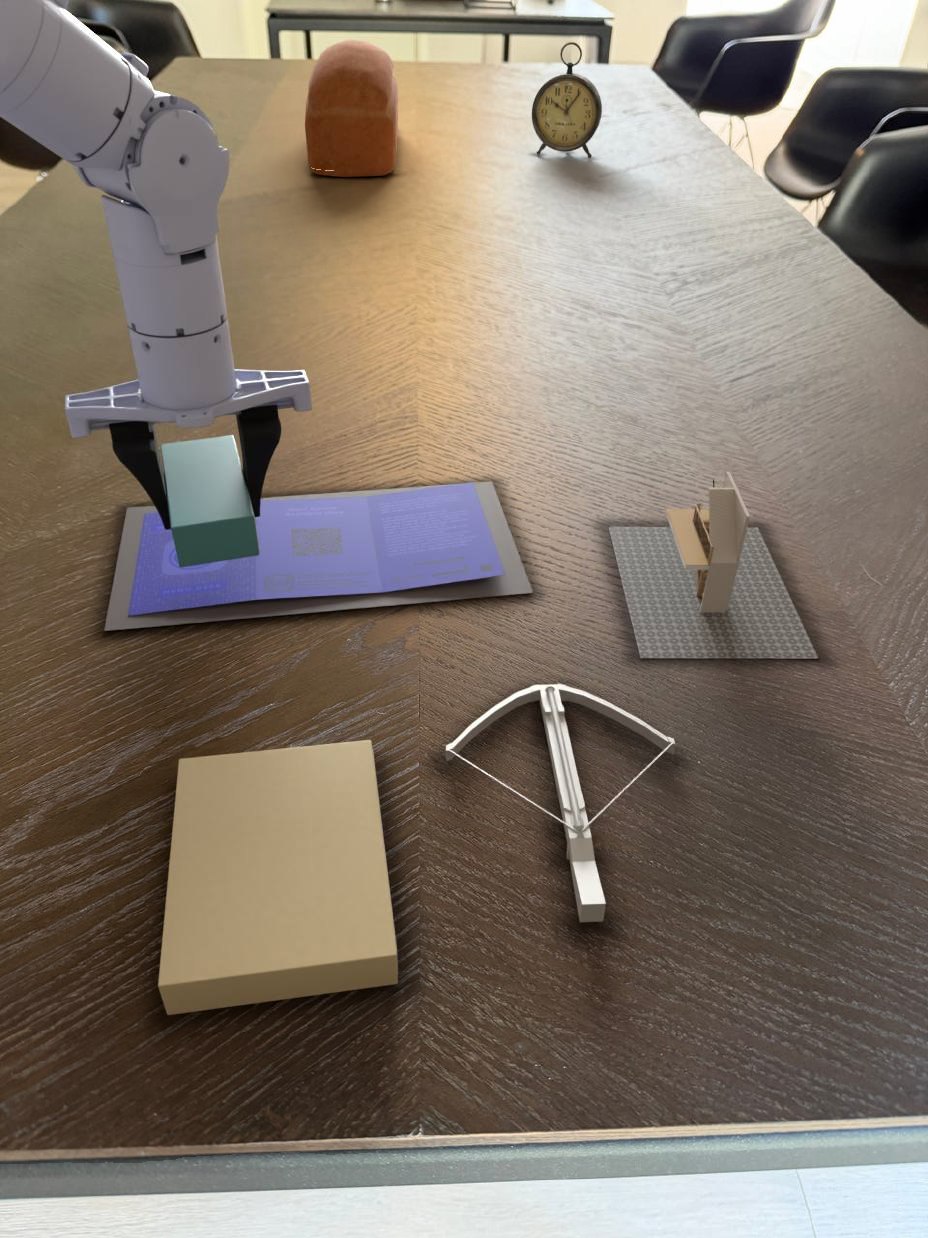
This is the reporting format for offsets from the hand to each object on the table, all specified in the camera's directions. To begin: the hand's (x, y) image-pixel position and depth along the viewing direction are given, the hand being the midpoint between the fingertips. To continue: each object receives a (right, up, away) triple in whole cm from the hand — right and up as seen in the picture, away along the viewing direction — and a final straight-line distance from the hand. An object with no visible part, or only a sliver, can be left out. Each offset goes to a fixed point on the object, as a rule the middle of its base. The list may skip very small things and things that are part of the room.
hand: (211, 515), depth 65 cm
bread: (-1, +70, +94) cm, 117 cm away
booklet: (+7, -2, +4) cm, 8 cm away
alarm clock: (+34, +70, +95) cm, 123 cm away
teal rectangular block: (0, 0, 0) cm, 0 cm away
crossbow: (+22, -17, -13) cm, 31 cm away
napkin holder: (+34, -5, +2) cm, 34 cm away
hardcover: (+8, -20, -17) cm, 28 cm away
